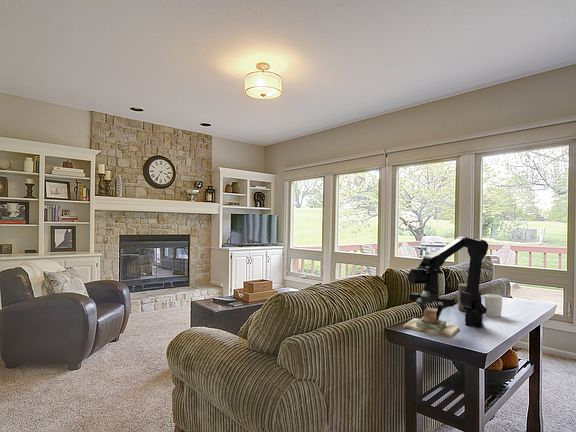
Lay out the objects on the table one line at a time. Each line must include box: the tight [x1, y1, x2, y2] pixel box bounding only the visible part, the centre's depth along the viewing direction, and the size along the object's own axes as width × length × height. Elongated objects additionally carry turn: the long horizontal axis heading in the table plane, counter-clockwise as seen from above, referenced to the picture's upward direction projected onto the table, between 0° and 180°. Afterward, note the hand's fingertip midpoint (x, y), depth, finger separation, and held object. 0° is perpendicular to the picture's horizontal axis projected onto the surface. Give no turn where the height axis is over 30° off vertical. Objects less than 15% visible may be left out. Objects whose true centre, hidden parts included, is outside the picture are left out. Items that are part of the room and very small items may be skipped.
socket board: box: [402, 316, 460, 338], centre depth 158 cm, size 20×14×3 cm
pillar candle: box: [457, 283, 467, 313], centre depth 188 cm, size 10×10×15 cm
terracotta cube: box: [423, 306, 440, 323], centre depth 158 cm, size 5×5×5 cm
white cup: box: [484, 293, 503, 318], centre depth 179 cm, size 8×8×10 cm
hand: (431, 318), depth 158 cm, fingers closed on terracotta cube, 5 cm apart
